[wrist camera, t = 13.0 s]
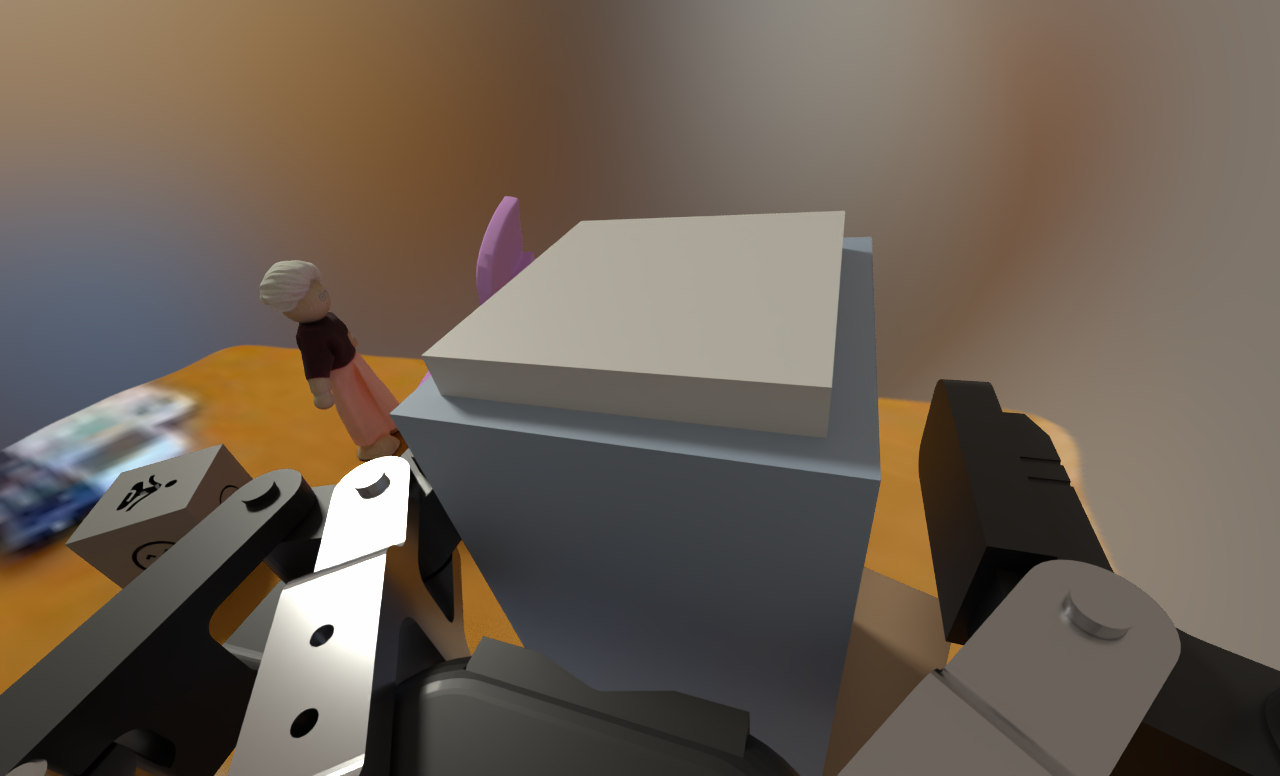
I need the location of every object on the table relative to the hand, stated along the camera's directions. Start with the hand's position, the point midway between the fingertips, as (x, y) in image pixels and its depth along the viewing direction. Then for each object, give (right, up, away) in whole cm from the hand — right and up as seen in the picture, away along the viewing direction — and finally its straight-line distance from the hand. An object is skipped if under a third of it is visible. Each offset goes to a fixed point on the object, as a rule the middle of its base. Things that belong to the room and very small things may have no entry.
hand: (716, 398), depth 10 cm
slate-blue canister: (0, -7, +3) cm, 8 cm away
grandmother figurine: (-19, -3, +24) cm, 31 cm away
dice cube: (-26, -9, +18) cm, 32 cm away
